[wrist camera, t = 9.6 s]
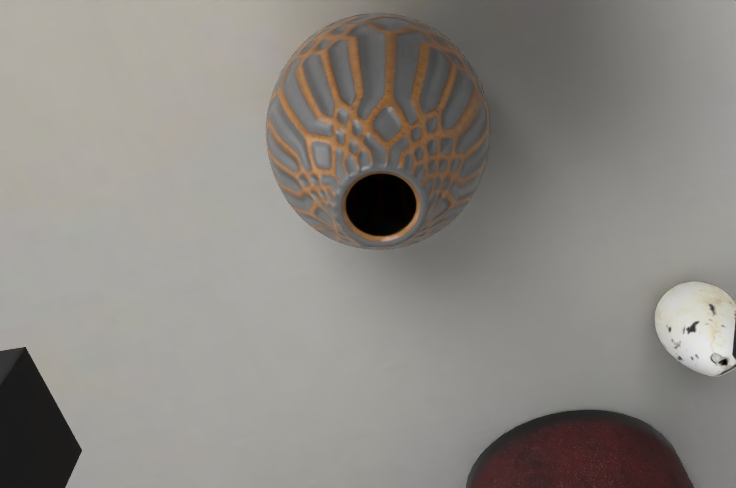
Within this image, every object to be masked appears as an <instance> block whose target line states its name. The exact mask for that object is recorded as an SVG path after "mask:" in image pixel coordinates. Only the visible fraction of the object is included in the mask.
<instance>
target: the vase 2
mask: <svg viewBox="0 0 736 488" xmlns="http://www.w3.org/2000/svg"><path fill="white" fill-rule="evenodd" d="M466 488H694V487H693V485H692V483H691V481H690V479H689V477H688V475H687V473H686V471H685V469H684V467H683V465H682V463H681V461H680V459H679V457H678V456H677V454H676V452H675V450H674V448H673V447H672V446H671V444H670V443H669V442H668V441H667V440H666V439H665V438H664V436H663V435H662V434H661V433H660V432H658V431H657V430H655V429H654V428H653V427H651V426H650V425H648V424H646V423H644V422H642V421H640V420H638V419H636V418H633V417H630V416H627V415H624V414H620V413H614V412H608V411H598V410H578V411H567V412H561V413H556V414H551V415H547V416H544V417H540V418H537V419H534V420H531V421H529V422H527V423H524V424H522V425H520V426H518V427H516V428H514V429H512V430H511V431H509V432H507V433H505V434H504V435H502V436H501V437H500V438H498V439H497V440H496V441H495V442H493V443H492V444H491V445H490V446H489V447H488V448H487V449H486V450H485V451H484V452H483V453H482V454H481V455H480V457H479V458H478V460H477V461H476V462H475V464H474V465H473V467H472V469H471V472H470V474H469V476H468V480H467V484H466Z"/></svg>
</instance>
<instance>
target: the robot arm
mask: <svg viewBox="0 0 736 488" xmlns="http://www.w3.org/2000/svg"><path fill="white" fill-rule="evenodd" d="M732 355H733V357H734V358H735V359H736V320H735V330H734V341H733V352H732ZM81 452H82V450H81V448H80V446H79V444H78V442H77V440H76V439H75V437H74V435H73V433H72V431H71V429H70V428H69V426H68V424H67V422H66V420H65V418H64V417H63V415H62V413H61V411H60V409H59V407H58V406H57V404H56V402H55V400H54V398H53V397H52V395H51V393H50V391H49V389H48V387H47V386H46V384H45V382H44V380H43V378H42V376H41V375H40V373H39V371H38V369H37V367H36V365H35V364H34V362H33V360H32V358H31V356H30V354H29V353H28V351H27V349H26V347H23V348H16V349H10V350H4V351H0V488H65V487H66V485H67V482H68V480H69V478H70V476H71V474H72V471H73V469H74V467H75V465H76V463H77V460H78V458H79V456H80V454H81Z"/></svg>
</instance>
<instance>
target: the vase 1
mask: <svg viewBox="0 0 736 488" xmlns="http://www.w3.org/2000/svg"><path fill="white" fill-rule="evenodd" d="M266 140H267V150H268V155H269V160H270V164H271V167H272V170H273V173H274V176H275V178H276V181H277V183H278V185H279V187H280V189H281V191H282V193H283V194H284V196H285V198H286V199H287V201H288V202H289V204H290V205H291V206H292V208H293V209H294V210H295V211H296V212H297V214H298V215H299V216H300V217H301V218H302V219H303V220H304V221H306V222H307V223H308V224H309V225H310V226H311V227H313V228H314V229H315V230H317V231H318V232H320V233H321V234H323V235H325V236H327V237H328V238H330V239H333V240H335V241H337V242H340V243H342V244H346V245H349V246H353V247H357V248H363V249H373V250H383V249H394V248H399V247H404V246H408V245H411V244H414V243H417V242H419V241H422V240H424V239H426V238H428V237H430V236H432V235H433V234H435V233H437V232H438V231H440V230H441V229H443V228H444V227H445V226H446V225H448V224H449V223H450V222H451V221H452V220H453V219H454V218H455V217H456V216H457V215H458V214H459V213H460V212H461V211H462V210H463V208H464V207H465V206H466V205H467V203H468V202H469V200H470V199H471V197H472V195H473V193H474V192H475V190H476V188H477V186H478V184H479V182H480V179H481V177H482V174H483V171H484V168H485V165H486V161H487V156H488V151H489V144H490V118H489V111H488V106H487V102H486V99H485V95H484V92H483V89H482V87H481V84H480V82H479V80H478V78H477V76H476V74H475V72H474V71H473V69H472V67H471V65H470V64H469V62H468V61H467V60H466V58H465V57H464V56H463V54H462V53H461V52H460V51H459V50H458V49H457V48H456V46H455V45H454V44H453V43H452V42H451V41H449V40H448V39H447V38H446V37H445V36H443V35H442V34H441V33H439V32H438V31H436V30H435V29H433V28H431V27H430V26H428V25H426V24H424V23H422V22H419V21H417V20H414V19H411V18H407V17H404V16H399V15H394V14H384V13H373V14H363V15H357V16H352V17H349V18H345V19H342V20H339V21H337V22H335V23H332V24H330V25H328V26H326V27H324V28H323V29H321V30H320V31H318V32H317V33H315V34H314V35H312V36H311V37H310V38H309V39H307V40H306V41H305V42H304V43H303V44H302V45H301V46H300V47H299V48H298V49H297V51H296V52H295V53H294V54H293V55H292V57H291V58H290V60H289V61H288V62H287V64H286V65H285V67H284V69H283V70H282V72H281V74H280V76H279V78H278V80H277V82H276V85H275V87H274V90H273V92H272V96H271V99H270V103H269V108H268V113H267V121H266Z"/></svg>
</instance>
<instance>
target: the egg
mask: <svg viewBox="0 0 736 488" xmlns="http://www.w3.org/2000/svg"><path fill="white" fill-rule="evenodd" d="M735 320H736V303H735V301H734V300H733V299H732V298H731V297H730V296H729V295H728V294H727V293H726V292H724V291H723V290H721V289H720V288H718V287H716V286H714V285H711V284H708V283H704V282H685V283H681V284H679V285H676V286H674V287H673V288H671V289H670V290H668V291H667V292H666V293H665V294H664V295H663V296H662V298H661V299H660V301H659V303H658V305H657V308H656V311H655V328H656V332H657V334H658V337H659V339H660V341H661V343H662V344H663V346H664V347H665V348H666V350H667V351H668V352H669V353H670V354H671V355H672V356H673V357H674V358H675V359H677V360H678V361H679V362H681V363H682V364H683V365H685V366H687V367H688V368H690V369H692V370H694V371H696V372H699V373H701V374H704V375H707V376H712V377H719V376H722V375H724V374H726V373H729V372H730V371H732V370H733V369H735V368H736V359H735V358H734V357H733V355H732V352H733V341H734V330H735Z"/></svg>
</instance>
